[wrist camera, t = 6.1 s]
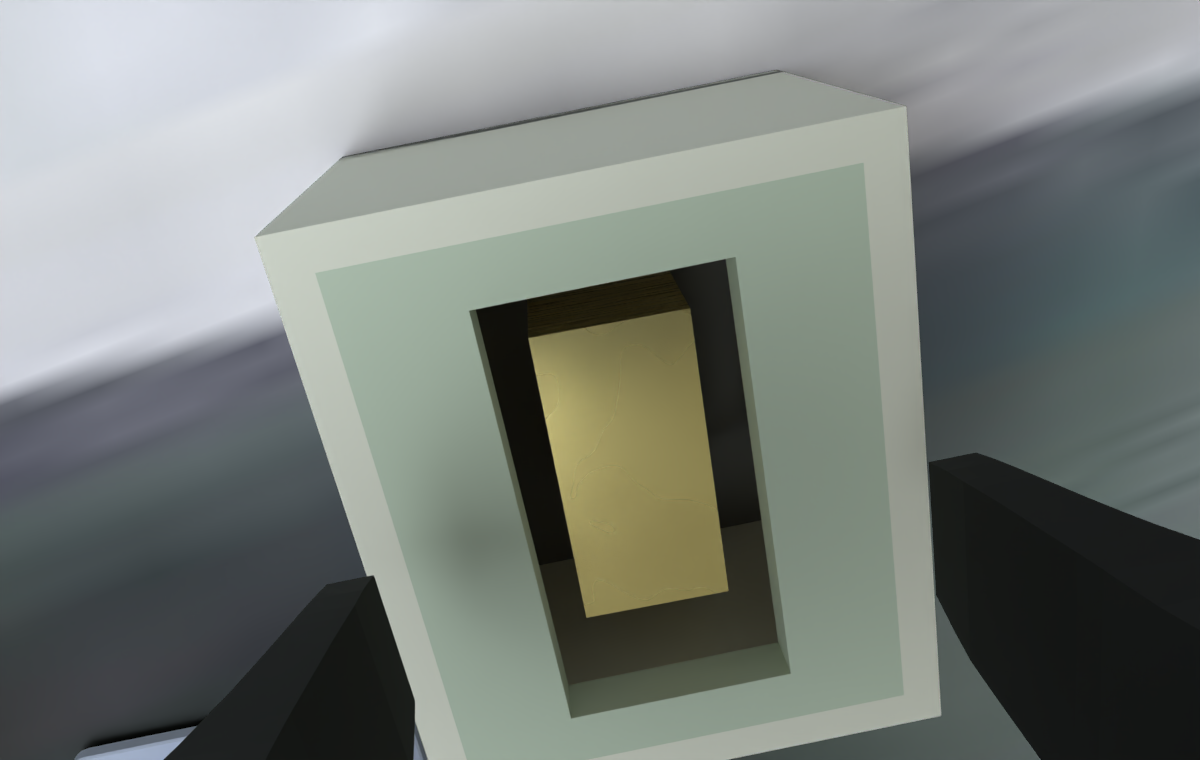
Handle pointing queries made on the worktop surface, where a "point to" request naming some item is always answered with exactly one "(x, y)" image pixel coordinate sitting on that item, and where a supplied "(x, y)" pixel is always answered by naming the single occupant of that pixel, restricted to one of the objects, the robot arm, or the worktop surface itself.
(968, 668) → the worktop surface
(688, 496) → the block
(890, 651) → the box
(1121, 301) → the worktop surface
